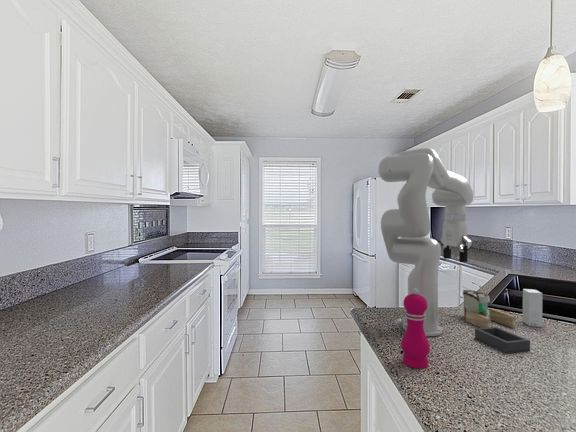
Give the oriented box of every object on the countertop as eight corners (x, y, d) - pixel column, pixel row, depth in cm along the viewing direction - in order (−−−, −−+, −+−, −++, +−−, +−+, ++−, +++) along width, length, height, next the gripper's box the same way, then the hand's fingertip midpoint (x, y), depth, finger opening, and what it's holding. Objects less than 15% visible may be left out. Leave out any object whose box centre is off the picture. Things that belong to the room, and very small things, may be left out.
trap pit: (506, 353, 95) (506, 342, 95) (474, 338, 107) (474, 328, 107) (530, 350, 97) (530, 340, 97) (496, 336, 109) (496, 326, 109)
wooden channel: (487, 330, 114) (487, 318, 114) (465, 321, 124) (465, 310, 124) (515, 327, 116) (515, 316, 116) (492, 318, 126) (492, 308, 126)
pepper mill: (427, 372, 84) (427, 292, 84) (397, 365, 88) (398, 289, 88) (432, 361, 90) (432, 287, 90) (404, 355, 94) (404, 284, 94)
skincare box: (542, 327, 117) (543, 293, 117) (528, 326, 118) (528, 292, 118) (535, 322, 123) (535, 289, 123) (522, 320, 124) (522, 288, 124)
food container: (497, 325, 119) (497, 297, 119) (479, 325, 119) (480, 297, 119) (478, 315, 131) (478, 289, 131) (462, 315, 131) (462, 289, 131)
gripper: (433, 218, 146) (433, 257, 146) (461, 218, 129) (461, 263, 129) (449, 218, 147) (449, 257, 147) (478, 218, 130) (478, 262, 130)
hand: (455, 260), depth 138 cm, fingers open, 9 cm apart
